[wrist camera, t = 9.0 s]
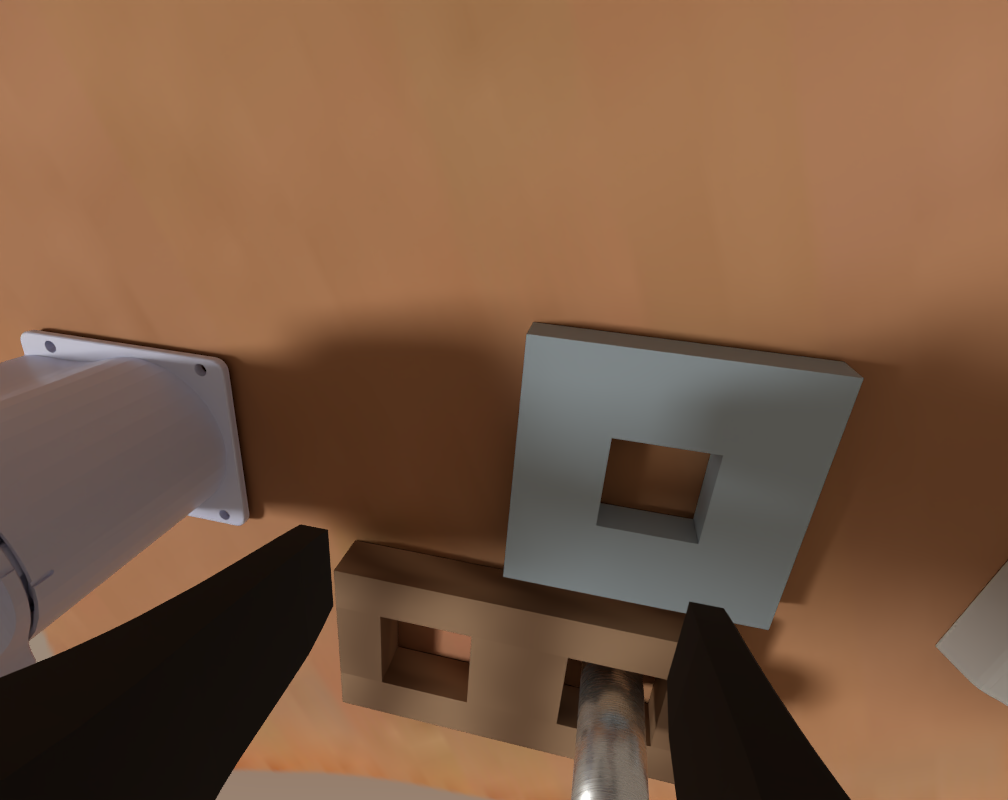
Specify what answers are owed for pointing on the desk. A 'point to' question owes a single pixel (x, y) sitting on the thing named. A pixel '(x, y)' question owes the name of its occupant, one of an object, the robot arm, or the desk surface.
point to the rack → (493, 649)
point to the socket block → (678, 424)
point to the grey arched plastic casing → (983, 639)
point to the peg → (610, 736)
